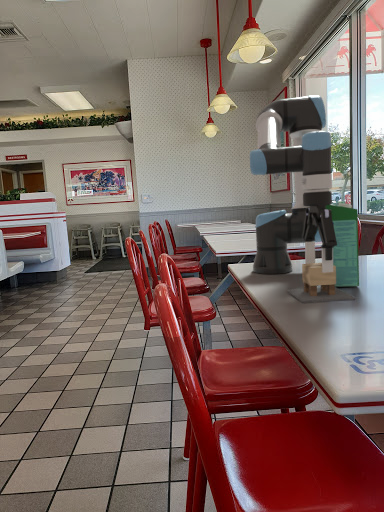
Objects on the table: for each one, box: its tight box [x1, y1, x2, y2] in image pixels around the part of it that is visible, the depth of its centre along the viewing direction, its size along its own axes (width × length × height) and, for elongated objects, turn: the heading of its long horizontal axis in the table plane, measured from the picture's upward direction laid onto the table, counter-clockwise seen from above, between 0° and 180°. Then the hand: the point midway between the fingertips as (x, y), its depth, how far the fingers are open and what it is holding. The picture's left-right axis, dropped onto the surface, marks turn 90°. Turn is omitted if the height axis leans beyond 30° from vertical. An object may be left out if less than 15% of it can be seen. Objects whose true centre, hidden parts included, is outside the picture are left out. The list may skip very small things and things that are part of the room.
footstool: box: [301, 262, 336, 296], centre depth 108 cm, size 7×7×8 cm
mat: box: [287, 286, 356, 304], centre depth 108 cm, size 14×14×1 cm
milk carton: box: [321, 202, 360, 288], centre depth 118 cm, size 9×9×25 cm
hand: (318, 267), depth 108 cm, fingers open, 13 cm apart
